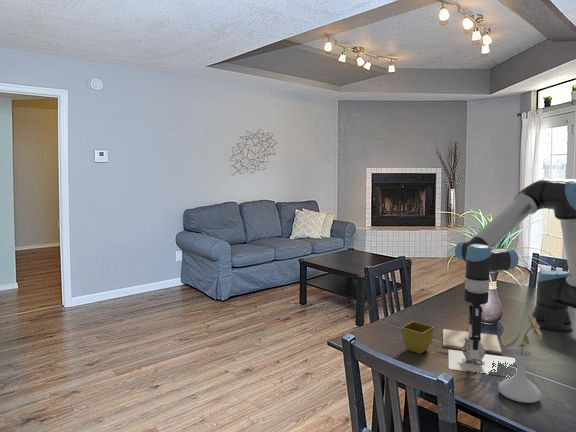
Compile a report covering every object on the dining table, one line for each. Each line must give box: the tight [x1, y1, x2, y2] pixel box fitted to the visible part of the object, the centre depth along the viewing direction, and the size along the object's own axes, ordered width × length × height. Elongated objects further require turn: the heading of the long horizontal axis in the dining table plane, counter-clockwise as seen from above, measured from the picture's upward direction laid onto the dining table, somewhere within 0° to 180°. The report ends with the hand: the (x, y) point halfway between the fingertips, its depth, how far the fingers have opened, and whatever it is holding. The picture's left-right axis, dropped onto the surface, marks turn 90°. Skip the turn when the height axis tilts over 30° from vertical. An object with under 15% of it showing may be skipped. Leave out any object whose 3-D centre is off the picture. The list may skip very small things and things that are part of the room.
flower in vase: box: [497, 312, 543, 404], centre depth 130 cm, size 13×11×25 cm
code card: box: [447, 349, 516, 378], centre depth 152 cm, size 22×16×1 cm
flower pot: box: [401, 321, 435, 354], centre depth 163 cm, size 9×9×9 cm
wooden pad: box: [442, 328, 502, 355], centre depth 170 cm, size 20×16×1 cm
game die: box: [458, 338, 489, 364], centre depth 153 cm, size 9×8×10 cm
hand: (473, 350), depth 152 cm, fingers open, 13 cm apart
